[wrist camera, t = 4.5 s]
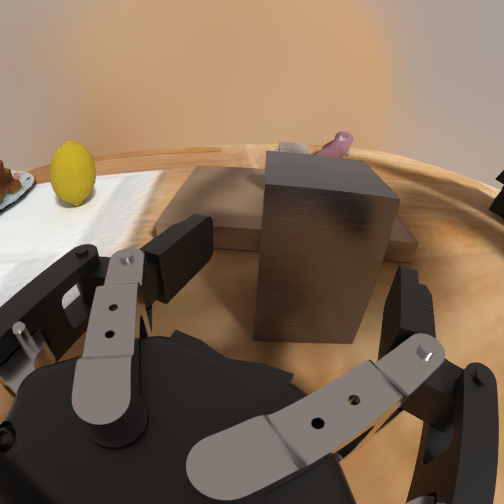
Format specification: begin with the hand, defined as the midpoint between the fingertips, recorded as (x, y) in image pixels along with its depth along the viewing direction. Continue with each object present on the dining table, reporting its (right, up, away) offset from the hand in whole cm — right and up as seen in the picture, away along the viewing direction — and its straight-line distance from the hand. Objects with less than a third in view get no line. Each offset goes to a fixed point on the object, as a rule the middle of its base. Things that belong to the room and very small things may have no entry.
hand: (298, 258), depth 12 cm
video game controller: (+13, +16, +39) cm, 44 cm away
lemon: (-22, +5, +19) cm, 30 cm away
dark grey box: (+1, -3, +7) cm, 8 cm away
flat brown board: (+2, +4, +19) cm, 20 cm away
